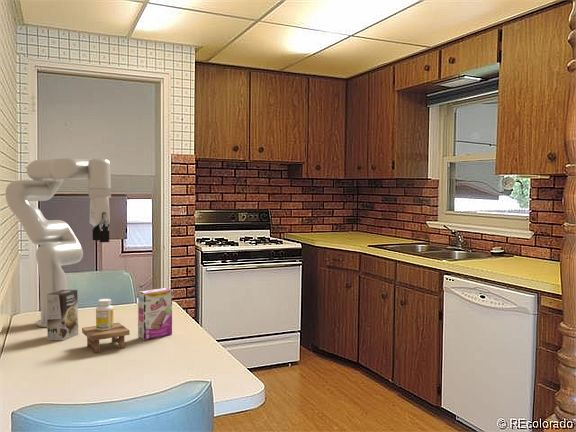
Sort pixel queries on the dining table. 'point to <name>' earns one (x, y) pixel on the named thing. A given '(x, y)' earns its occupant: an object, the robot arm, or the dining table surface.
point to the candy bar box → (154, 313)
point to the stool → (105, 336)
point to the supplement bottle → (104, 315)
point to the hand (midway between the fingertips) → (100, 241)
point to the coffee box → (62, 314)
